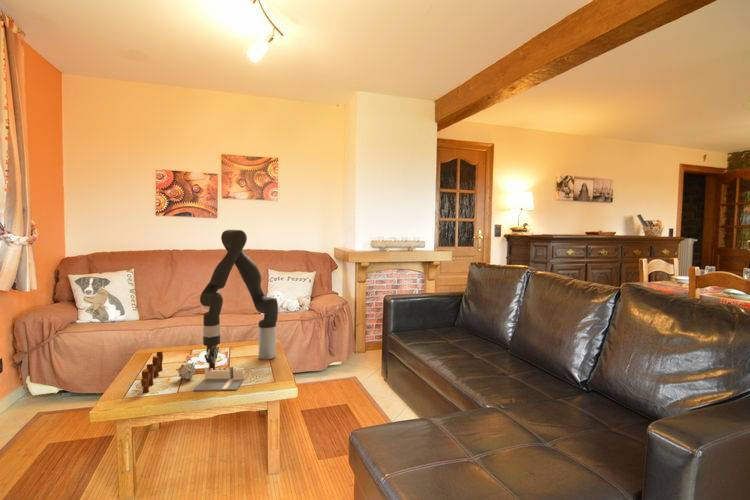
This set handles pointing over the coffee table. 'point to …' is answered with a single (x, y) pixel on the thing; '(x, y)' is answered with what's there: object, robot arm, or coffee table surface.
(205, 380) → the card
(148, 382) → the fence
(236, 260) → the robot arm
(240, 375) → the fixed panel
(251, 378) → the coffee table surface
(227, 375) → the hinged panel
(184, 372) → the grey spiky ball
